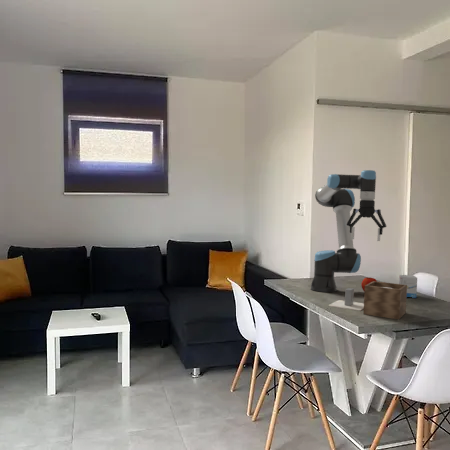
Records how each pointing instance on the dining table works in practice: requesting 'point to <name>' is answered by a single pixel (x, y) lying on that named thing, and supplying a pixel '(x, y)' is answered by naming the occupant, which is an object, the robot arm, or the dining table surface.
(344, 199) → the robot arm
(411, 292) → the ink box
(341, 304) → the lid
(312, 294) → the dining table surface
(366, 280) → the apple
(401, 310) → the crate
